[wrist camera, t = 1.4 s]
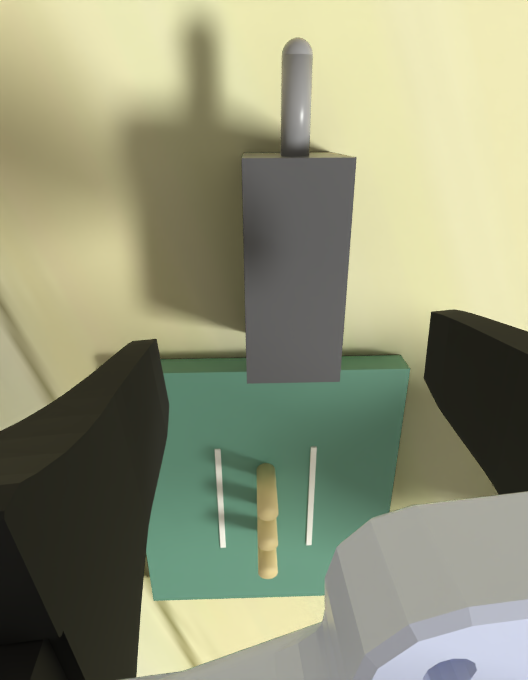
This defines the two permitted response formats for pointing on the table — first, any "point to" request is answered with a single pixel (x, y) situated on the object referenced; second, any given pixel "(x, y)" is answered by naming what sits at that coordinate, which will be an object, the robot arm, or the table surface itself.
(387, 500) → the header board
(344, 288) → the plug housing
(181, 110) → the table surface
